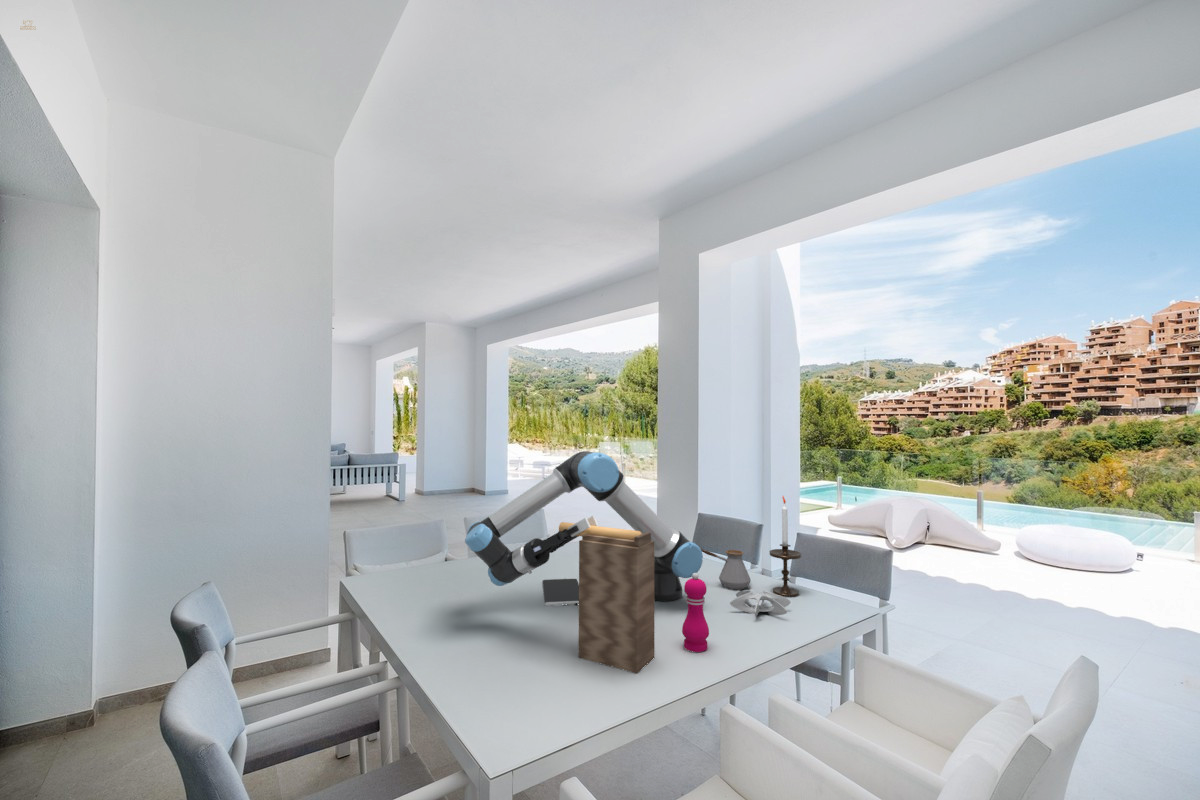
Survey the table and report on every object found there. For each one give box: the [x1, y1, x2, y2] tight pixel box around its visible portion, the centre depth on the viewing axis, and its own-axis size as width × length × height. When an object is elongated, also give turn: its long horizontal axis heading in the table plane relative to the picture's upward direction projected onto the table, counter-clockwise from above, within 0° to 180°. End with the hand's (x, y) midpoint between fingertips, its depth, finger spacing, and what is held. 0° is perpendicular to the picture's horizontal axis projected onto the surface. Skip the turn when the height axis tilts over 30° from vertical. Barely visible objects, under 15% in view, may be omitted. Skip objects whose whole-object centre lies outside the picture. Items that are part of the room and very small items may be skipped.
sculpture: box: [729, 590, 791, 617], centre depth 171 cm, size 18×20×6 cm
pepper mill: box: [681, 572, 710, 653], centre depth 144 cm, size 7×7×20 cm
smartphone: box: [542, 577, 579, 607], centre depth 190 cm, size 13×27×2 cm, turn 8°
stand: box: [578, 532, 655, 674], centre depth 138 cm, size 17×10×32 cm, turn 59°
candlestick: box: [769, 496, 802, 598], centre depth 191 cm, size 11×11×35 cm
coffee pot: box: [700, 548, 752, 591], centre depth 198 cm, size 21×12×15 cm, turn 98°
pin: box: [558, 521, 641, 540], centre depth 141 cm, size 24×3×3 cm, turn 59°
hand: (591, 521), depth 143 cm, fingers closed on pin, 3 cm apart
